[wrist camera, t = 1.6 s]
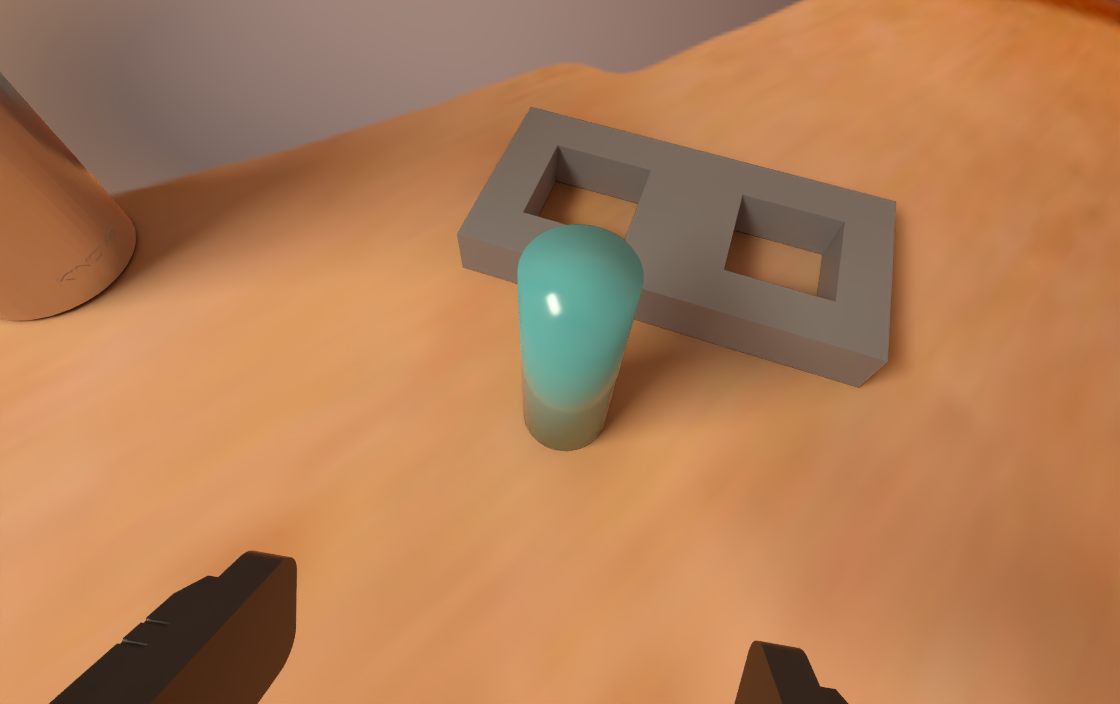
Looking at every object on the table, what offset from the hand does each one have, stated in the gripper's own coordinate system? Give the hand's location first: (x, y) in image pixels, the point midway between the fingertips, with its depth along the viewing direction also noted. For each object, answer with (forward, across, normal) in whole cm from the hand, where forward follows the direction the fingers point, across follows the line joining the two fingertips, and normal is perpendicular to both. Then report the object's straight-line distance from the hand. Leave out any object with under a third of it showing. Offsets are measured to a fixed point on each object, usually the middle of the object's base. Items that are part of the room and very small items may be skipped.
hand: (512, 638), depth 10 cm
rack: (+29, -5, -5) cm, 30 cm away
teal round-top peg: (+20, 0, +3) cm, 20 cm away
